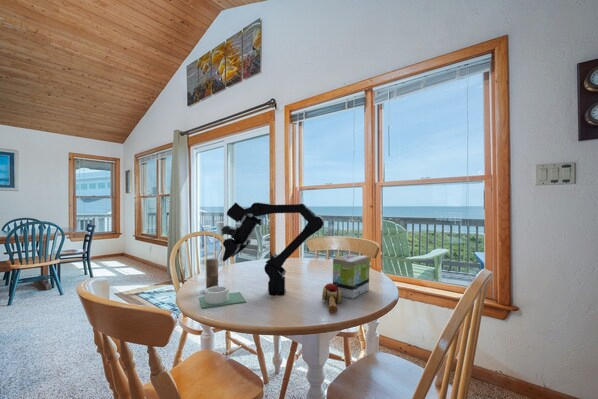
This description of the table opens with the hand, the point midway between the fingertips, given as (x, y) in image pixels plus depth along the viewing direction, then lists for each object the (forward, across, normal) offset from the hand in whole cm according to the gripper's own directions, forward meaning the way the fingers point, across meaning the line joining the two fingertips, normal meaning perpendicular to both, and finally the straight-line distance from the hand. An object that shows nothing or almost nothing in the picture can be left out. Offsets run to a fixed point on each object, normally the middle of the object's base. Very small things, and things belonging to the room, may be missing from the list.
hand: (227, 258), depth 121 cm
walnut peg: (+16, -1, +1) cm, 16 cm away
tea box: (-17, -4, +52) cm, 55 cm away
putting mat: (+10, +12, +9) cm, 18 cm away
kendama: (-12, +10, +45) cm, 48 cm away
